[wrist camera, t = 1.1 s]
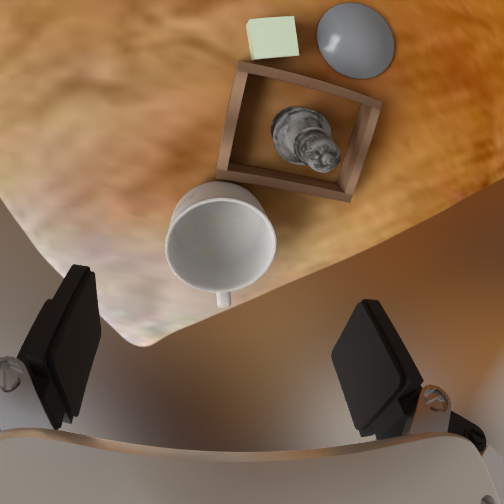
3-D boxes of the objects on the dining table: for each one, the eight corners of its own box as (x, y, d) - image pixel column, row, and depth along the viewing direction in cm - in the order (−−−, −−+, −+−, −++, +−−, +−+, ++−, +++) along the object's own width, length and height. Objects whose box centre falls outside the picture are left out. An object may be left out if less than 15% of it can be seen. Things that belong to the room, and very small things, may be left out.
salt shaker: (282, 94, 30) (315, 109, 20) (330, 118, 32) (379, 146, 22) (258, 142, 32) (277, 181, 22) (306, 163, 34) (342, 209, 24)
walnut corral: (237, 61, 27) (239, 61, 25) (370, 98, 30) (383, 102, 28) (215, 168, 34) (215, 178, 31) (341, 192, 37) (349, 202, 34)
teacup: (179, 164, 33) (168, 192, 26) (275, 178, 35) (290, 208, 28) (169, 268, 40) (162, 310, 34) (251, 276, 42) (258, 319, 36)
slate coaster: (325, -8, 23) (327, -9, 23) (398, 22, 25) (401, 22, 25) (307, 64, 28) (309, 64, 27) (381, 89, 30) (383, 89, 29)
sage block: (245, 25, 25) (249, 19, 22) (285, 21, 25) (293, 16, 22) (251, 60, 28) (255, 59, 24) (290, 56, 28) (299, 55, 24)
